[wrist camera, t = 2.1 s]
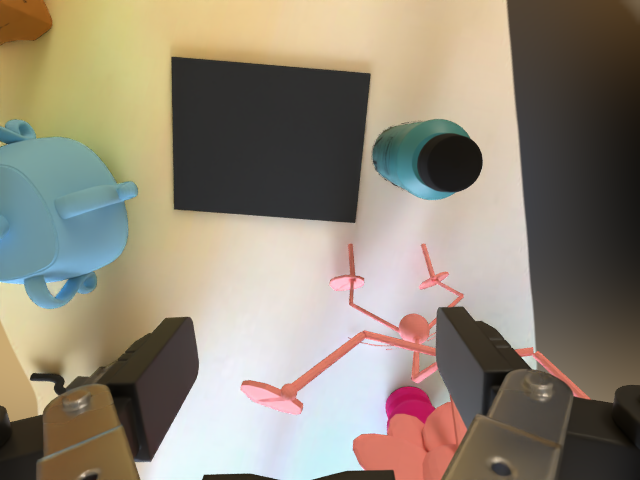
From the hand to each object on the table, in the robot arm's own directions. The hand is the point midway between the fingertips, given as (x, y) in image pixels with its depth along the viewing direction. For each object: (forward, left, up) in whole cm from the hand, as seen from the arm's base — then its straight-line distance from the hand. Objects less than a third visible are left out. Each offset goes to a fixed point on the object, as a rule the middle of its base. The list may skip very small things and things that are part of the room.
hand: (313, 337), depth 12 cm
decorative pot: (-29, -3, -35) cm, 45 cm away
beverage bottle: (+9, +6, -35) cm, 36 cm away
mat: (-6, +6, -34) cm, 35 cm away
